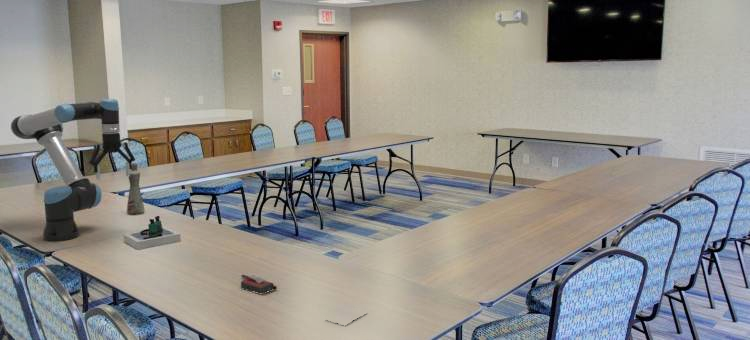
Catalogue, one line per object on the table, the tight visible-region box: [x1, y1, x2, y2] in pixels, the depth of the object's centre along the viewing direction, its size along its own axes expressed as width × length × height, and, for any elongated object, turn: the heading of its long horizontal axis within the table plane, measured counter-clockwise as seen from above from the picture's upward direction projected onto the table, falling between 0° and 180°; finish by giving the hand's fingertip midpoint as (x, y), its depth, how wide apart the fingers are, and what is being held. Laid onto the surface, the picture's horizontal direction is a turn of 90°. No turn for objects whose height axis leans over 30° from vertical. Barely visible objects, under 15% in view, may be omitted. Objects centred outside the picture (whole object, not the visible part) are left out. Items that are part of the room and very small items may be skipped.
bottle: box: [126, 162, 145, 216], centre depth 326 cm, size 9×9×28 cm
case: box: [123, 226, 181, 250], centre depth 277 cm, size 16×20×4 cm
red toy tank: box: [240, 274, 277, 293], centre depth 223 cm, size 9×4×20 cm
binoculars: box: [140, 215, 163, 240], centre depth 276 cm, size 9×11×10 cm
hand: (113, 177), depth 281 cm, fingers open, 13 cm apart
